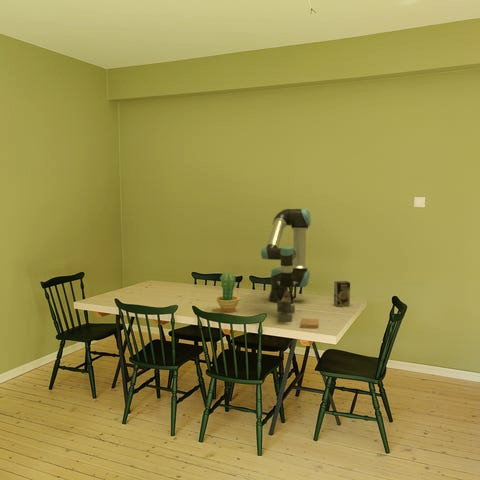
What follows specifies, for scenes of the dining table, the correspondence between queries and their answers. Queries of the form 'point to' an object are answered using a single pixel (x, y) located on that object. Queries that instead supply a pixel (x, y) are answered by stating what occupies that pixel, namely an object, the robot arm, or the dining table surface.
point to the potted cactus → (228, 293)
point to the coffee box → (341, 293)
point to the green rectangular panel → (309, 323)
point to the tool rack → (286, 315)
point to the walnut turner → (284, 303)
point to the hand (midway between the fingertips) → (286, 309)
